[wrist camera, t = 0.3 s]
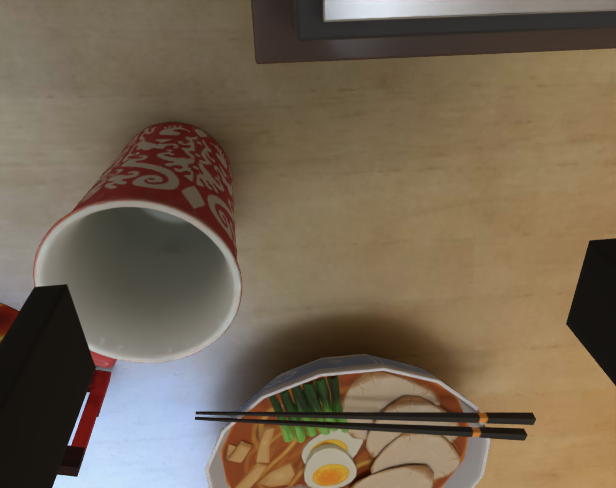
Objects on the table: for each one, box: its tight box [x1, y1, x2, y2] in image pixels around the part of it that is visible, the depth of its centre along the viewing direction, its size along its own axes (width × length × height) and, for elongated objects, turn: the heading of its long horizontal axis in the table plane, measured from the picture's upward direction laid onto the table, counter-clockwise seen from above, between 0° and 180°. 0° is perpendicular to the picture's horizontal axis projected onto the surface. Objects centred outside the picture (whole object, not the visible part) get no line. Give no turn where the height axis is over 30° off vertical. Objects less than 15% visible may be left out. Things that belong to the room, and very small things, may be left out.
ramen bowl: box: [195, 354, 536, 488], centre depth 44 cm, size 25×23×8 cm
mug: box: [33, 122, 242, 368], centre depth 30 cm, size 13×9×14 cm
